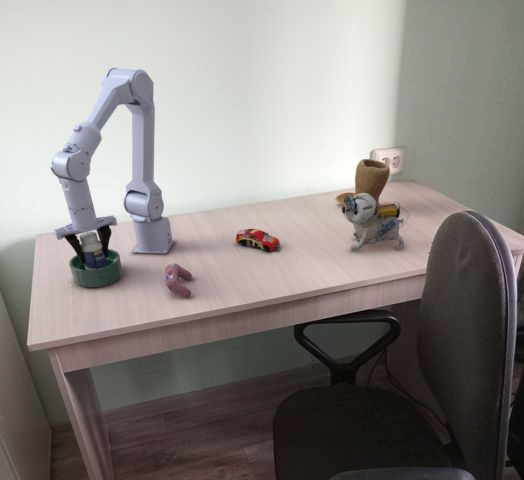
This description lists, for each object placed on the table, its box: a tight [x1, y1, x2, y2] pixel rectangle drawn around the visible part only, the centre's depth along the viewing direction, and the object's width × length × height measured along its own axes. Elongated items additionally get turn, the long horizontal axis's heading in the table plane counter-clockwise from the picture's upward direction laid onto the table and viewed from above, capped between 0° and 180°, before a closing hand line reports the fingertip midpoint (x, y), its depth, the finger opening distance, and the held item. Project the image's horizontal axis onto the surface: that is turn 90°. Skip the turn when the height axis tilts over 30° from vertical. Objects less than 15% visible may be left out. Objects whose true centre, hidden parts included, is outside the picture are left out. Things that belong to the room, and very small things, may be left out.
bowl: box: [68, 248, 124, 288], centre depth 125 cm, size 12×12×5 cm
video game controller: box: [164, 262, 193, 298], centre depth 119 cm, size 10×5×7 cm, turn 5°
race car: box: [235, 228, 281, 253], centre depth 137 cm, size 13×5×4 cm, turn 57°
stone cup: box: [335, 158, 391, 213], centre depth 152 cm, size 15×12×15 cm
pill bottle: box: [79, 231, 107, 270], centre depth 123 cm, size 5×5×10 cm
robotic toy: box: [341, 193, 410, 251], centre depth 131 cm, size 13×17×15 cm
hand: (94, 258), depth 124 cm, fingers closed on pill bottle, 5 cm apart
